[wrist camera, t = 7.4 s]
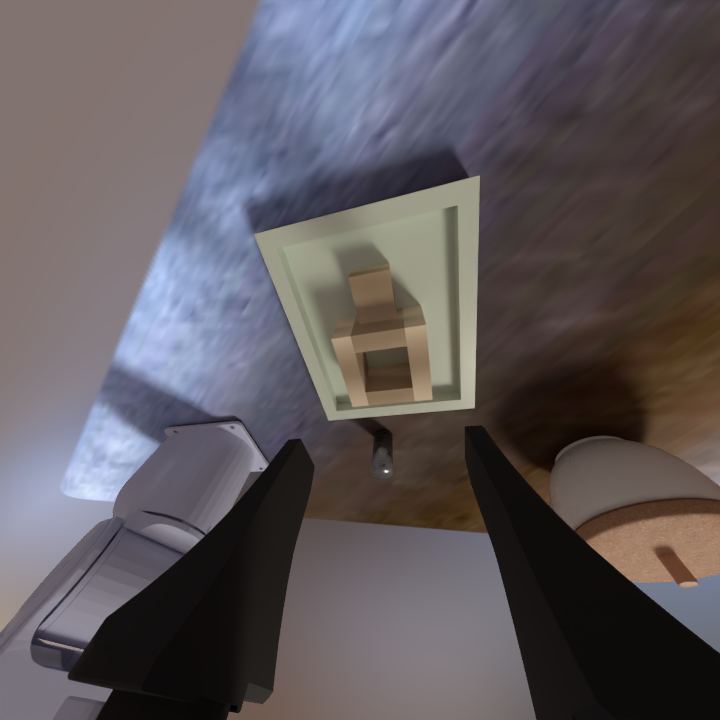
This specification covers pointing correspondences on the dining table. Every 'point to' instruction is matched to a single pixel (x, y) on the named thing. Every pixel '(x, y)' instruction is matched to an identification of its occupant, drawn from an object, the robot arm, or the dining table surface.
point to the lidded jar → (639, 509)
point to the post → (382, 454)
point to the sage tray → (410, 283)
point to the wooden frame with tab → (382, 343)
